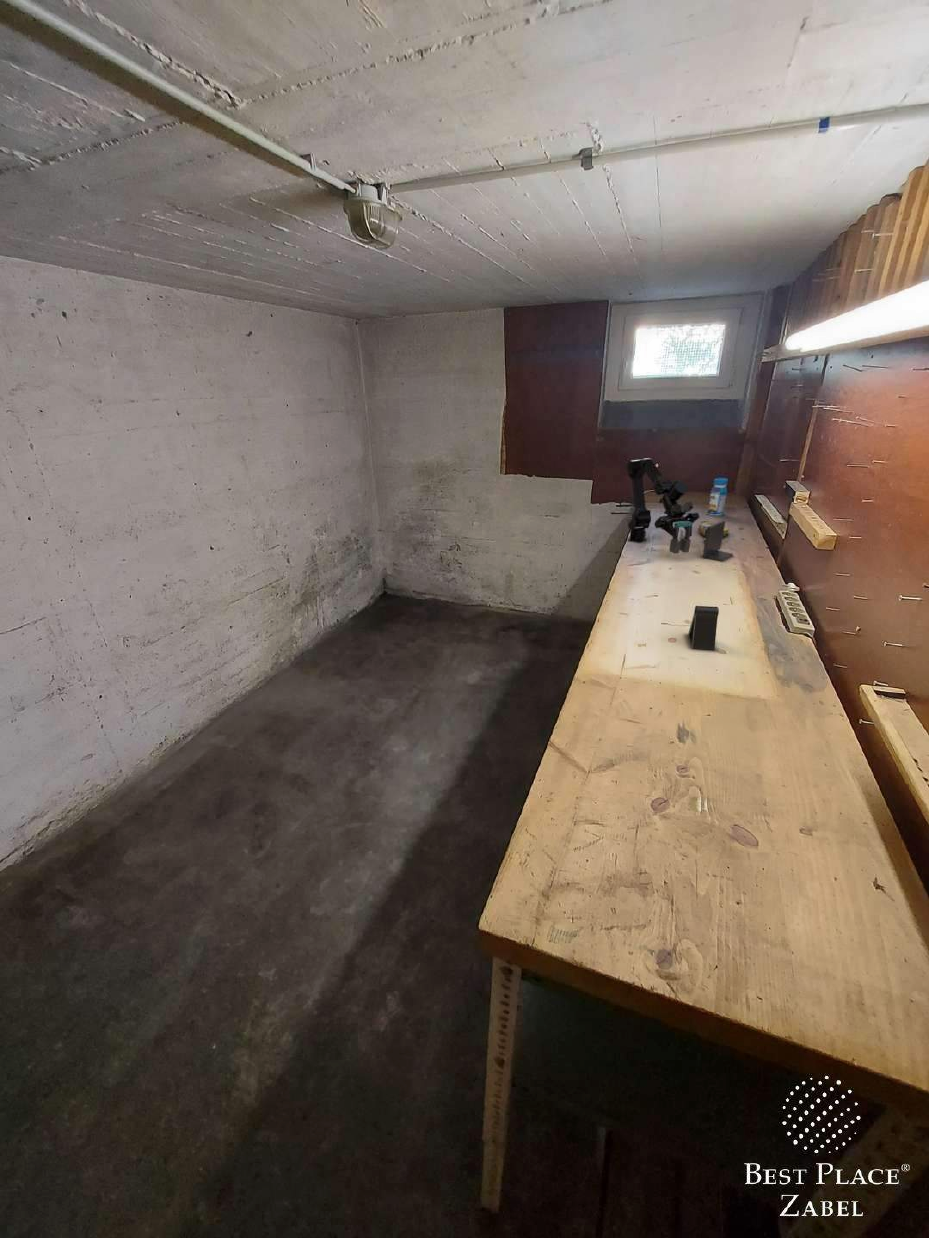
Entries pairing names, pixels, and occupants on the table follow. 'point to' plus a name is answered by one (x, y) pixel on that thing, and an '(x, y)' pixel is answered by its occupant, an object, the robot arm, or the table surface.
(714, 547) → the dark panel
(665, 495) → the robot arm
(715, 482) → the beverage bottle
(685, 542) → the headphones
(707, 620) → the phone stand
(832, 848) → the table surface
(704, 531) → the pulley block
